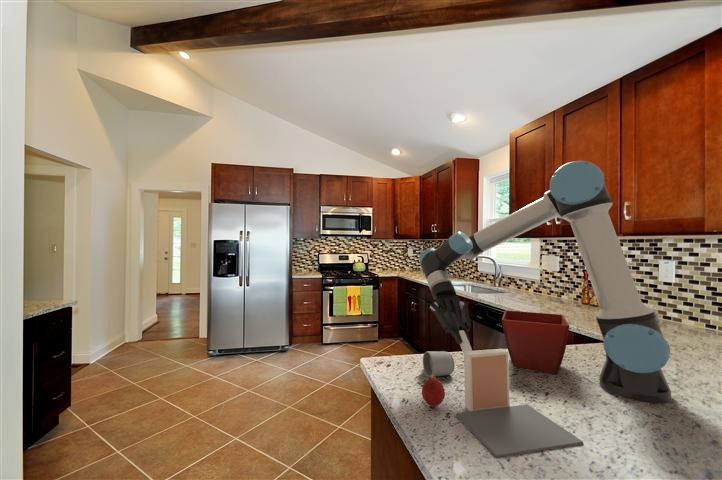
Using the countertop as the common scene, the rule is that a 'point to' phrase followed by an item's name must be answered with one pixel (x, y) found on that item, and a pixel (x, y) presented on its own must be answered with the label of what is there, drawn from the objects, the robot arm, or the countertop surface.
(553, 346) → the plant pot
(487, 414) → the mat
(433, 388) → the onion
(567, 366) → the countertop surface
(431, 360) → the ceramic mug
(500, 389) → the tile
